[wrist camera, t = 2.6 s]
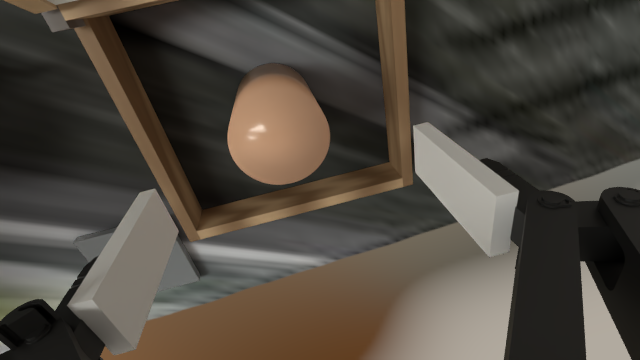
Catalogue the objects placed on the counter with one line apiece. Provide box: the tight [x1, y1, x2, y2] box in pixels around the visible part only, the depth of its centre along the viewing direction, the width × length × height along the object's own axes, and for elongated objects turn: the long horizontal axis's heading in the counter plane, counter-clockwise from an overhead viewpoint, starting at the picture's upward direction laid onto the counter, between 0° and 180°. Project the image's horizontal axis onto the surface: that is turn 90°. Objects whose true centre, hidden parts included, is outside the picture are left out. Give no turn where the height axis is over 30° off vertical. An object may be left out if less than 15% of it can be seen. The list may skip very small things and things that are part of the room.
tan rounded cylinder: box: [227, 63, 330, 185], centre depth 24 cm, size 7×7×9 cm
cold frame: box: [41, 0, 413, 242], centre depth 26 cm, size 22×20×6 cm
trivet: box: [73, 227, 201, 292], centre depth 34 cm, size 9×9×1 cm
